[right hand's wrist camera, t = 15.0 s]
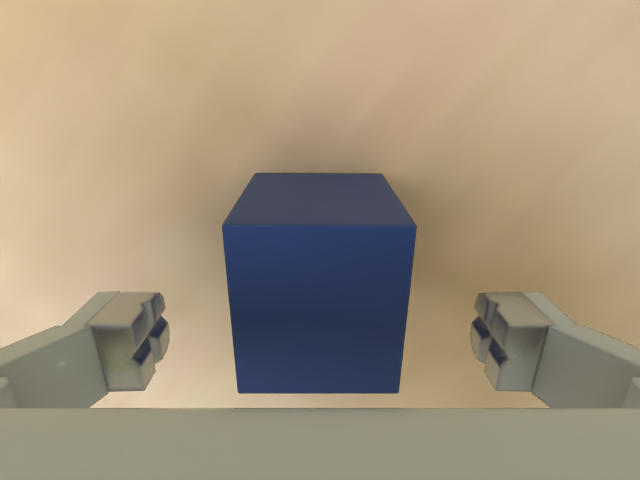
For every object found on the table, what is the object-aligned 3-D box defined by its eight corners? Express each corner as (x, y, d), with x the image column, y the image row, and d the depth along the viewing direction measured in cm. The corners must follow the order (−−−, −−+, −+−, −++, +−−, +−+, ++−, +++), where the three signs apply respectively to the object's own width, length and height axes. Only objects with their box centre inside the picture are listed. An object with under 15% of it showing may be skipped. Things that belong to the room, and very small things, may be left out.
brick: (254, 172, 13) (221, 224, 8) (382, 173, 13) (417, 225, 8) (261, 296, 15) (237, 394, 10) (374, 297, 15) (399, 394, 10)
